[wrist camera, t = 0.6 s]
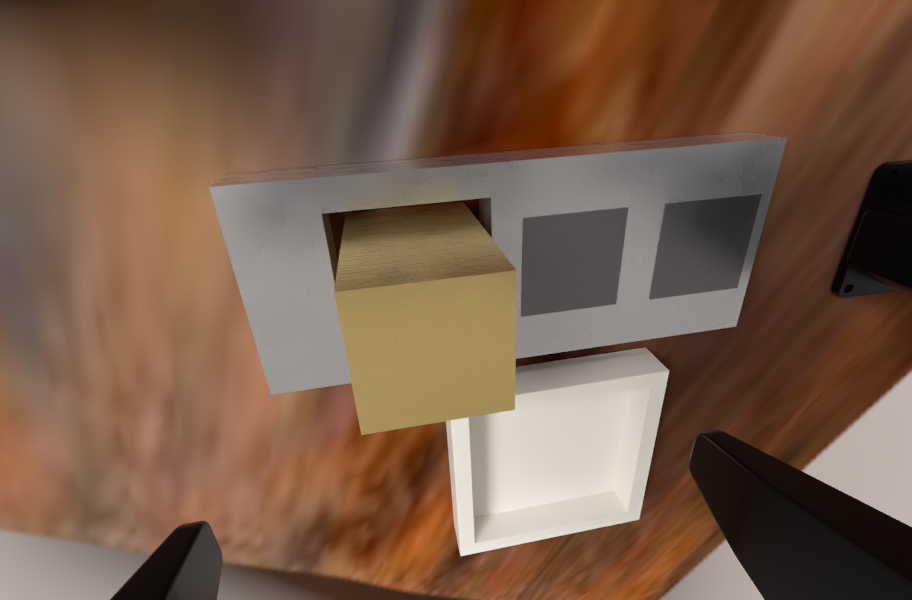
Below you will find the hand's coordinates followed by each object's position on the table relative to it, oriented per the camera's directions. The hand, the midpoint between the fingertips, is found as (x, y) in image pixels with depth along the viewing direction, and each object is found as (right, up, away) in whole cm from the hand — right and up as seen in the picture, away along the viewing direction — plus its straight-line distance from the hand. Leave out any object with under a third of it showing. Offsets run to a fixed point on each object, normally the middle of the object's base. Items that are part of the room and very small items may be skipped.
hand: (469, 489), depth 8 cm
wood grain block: (-2, +5, +10) cm, 11 cm away
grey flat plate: (+2, +5, +10) cm, 12 cm away
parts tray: (+4, -4, +16) cm, 17 cm away
